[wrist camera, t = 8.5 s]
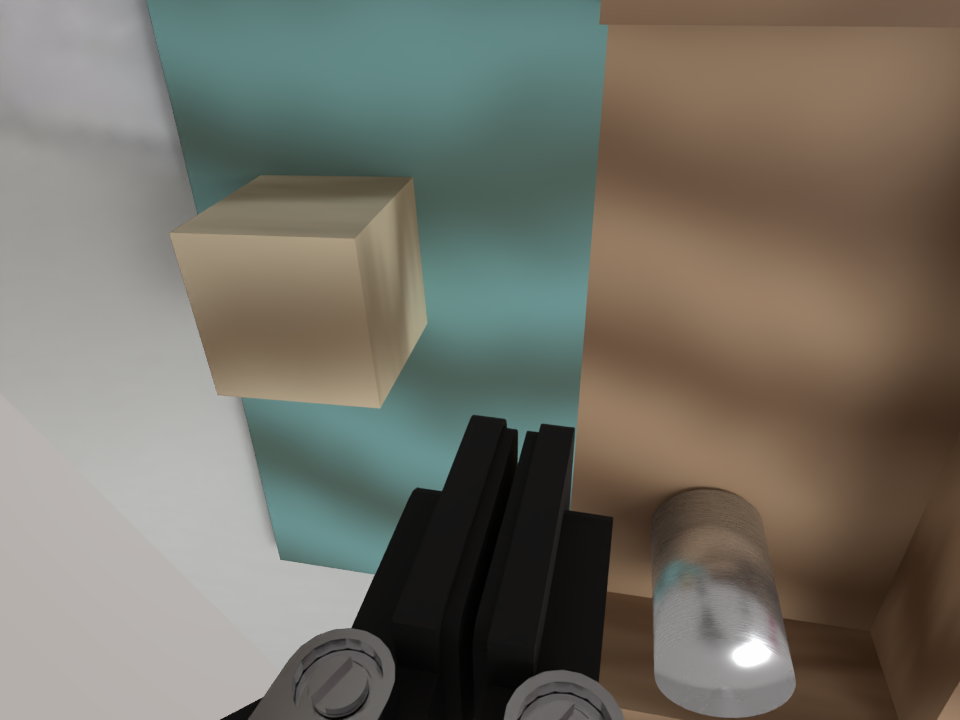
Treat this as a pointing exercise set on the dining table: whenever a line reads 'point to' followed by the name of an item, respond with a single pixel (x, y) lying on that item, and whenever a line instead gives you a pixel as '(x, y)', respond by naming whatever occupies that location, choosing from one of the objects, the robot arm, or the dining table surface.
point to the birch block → (307, 287)
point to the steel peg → (716, 608)
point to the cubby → (640, 288)
